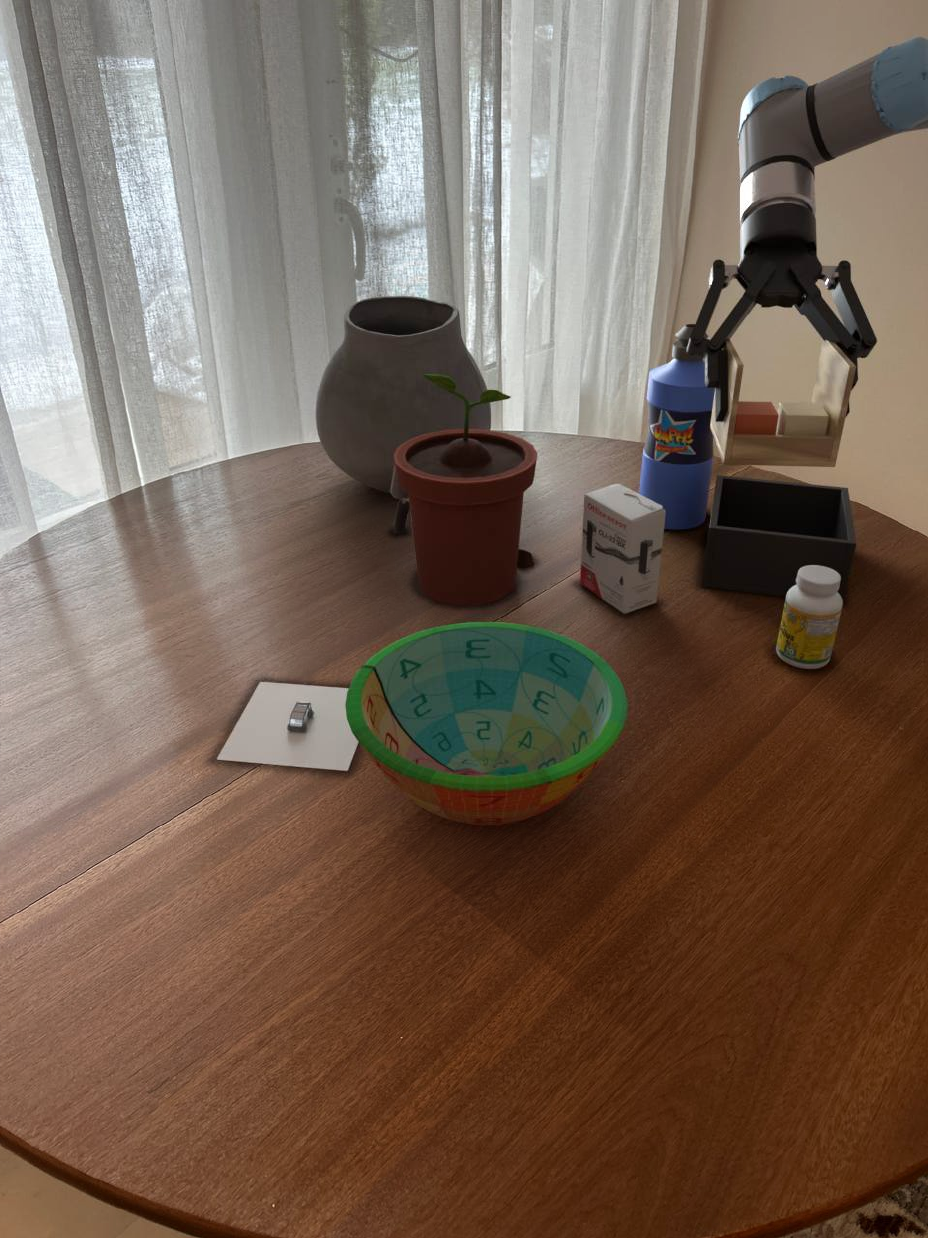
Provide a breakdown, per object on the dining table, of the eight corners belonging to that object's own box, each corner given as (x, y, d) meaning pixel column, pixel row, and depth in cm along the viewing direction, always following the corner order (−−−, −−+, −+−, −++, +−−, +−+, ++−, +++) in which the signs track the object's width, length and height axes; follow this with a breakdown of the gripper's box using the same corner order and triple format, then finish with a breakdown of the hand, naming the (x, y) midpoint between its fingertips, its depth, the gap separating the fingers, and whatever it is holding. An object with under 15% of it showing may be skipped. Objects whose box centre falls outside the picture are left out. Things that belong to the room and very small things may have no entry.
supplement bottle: (836, 670, 93) (857, 587, 88) (783, 671, 93) (800, 588, 88) (819, 641, 98) (838, 561, 93) (768, 641, 98) (784, 561, 93)
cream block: (773, 439, 96) (779, 401, 94) (812, 440, 96) (820, 402, 94) (780, 453, 93) (787, 415, 91) (821, 454, 93) (829, 415, 90)
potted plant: (381, 616, 103) (366, 396, 90) (394, 530, 122) (383, 337, 109) (540, 614, 103) (548, 395, 90) (529, 528, 122) (534, 335, 108)
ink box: (577, 583, 109) (582, 490, 103) (610, 572, 111) (617, 481, 105) (624, 615, 103) (633, 518, 97) (658, 603, 105) (669, 507, 99)
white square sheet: (216, 759, 83) (213, 746, 82) (260, 681, 93) (258, 669, 92) (347, 771, 81) (346, 757, 80) (377, 690, 91) (376, 678, 90)
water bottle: (693, 535, 119) (719, 339, 106) (625, 520, 123) (642, 329, 110) (715, 508, 126) (742, 321, 113) (650, 495, 130) (668, 313, 117)
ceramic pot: (308, 518, 125) (287, 330, 112) (336, 451, 146) (321, 286, 132) (489, 519, 124) (490, 330, 111) (491, 452, 145) (492, 285, 132)
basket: (835, 543, 117) (848, 487, 113) (842, 604, 104) (856, 543, 100) (709, 529, 121) (716, 474, 117) (700, 586, 108) (709, 527, 104)
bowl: (657, 756, 82) (668, 663, 77) (545, 933, 66) (550, 830, 61) (443, 684, 92) (440, 596, 87) (299, 822, 76) (286, 725, 70)
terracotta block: (726, 438, 97) (731, 400, 95) (765, 439, 96) (771, 401, 94) (731, 452, 93) (737, 414, 91) (772, 453, 93) (778, 414, 91)
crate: (709, 427, 101) (721, 334, 96) (811, 429, 100) (829, 336, 95) (723, 464, 92) (737, 364, 87) (835, 467, 91) (856, 366, 86)
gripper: (880, 245, 99) (889, 435, 94) (659, 244, 101) (657, 430, 96) (907, 198, 92) (918, 401, 87) (669, 198, 94) (666, 397, 89)
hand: (781, 417), depth 92 cm, fingers closed on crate, 11 cm apart
